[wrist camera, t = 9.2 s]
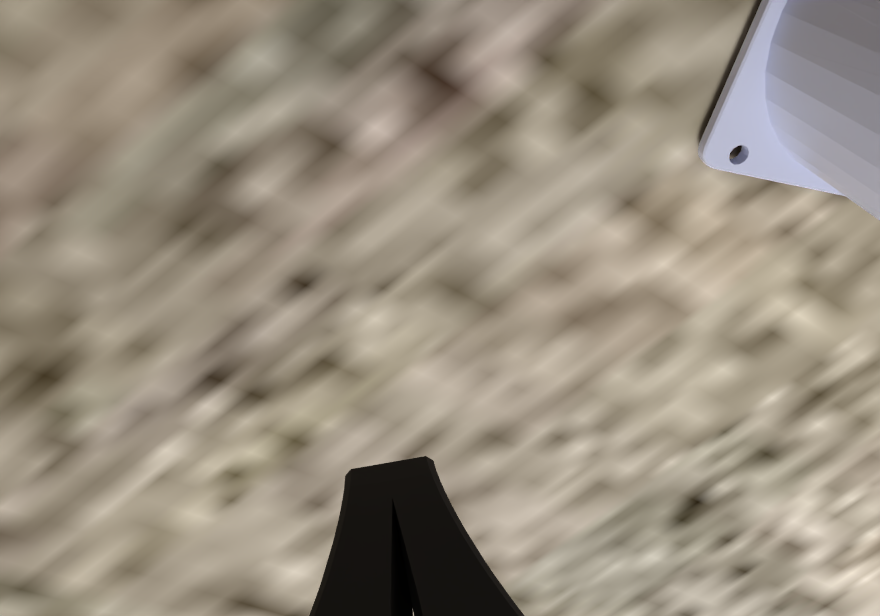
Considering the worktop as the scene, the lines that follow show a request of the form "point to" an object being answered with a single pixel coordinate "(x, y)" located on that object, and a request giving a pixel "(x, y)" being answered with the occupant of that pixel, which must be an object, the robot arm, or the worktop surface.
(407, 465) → the robot arm
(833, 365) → the worktop surface
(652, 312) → the worktop surface
